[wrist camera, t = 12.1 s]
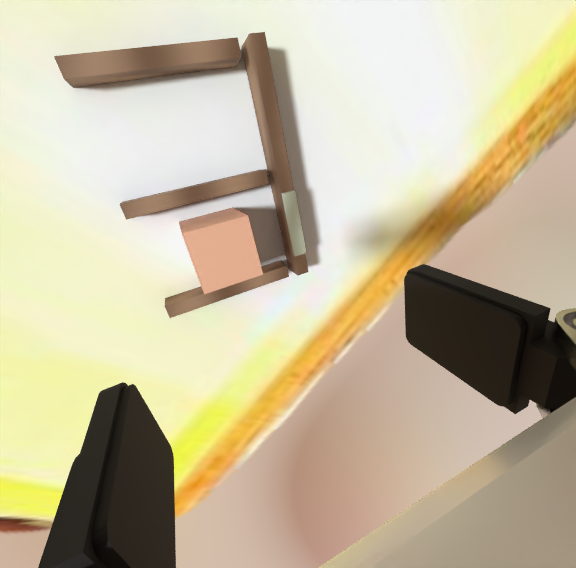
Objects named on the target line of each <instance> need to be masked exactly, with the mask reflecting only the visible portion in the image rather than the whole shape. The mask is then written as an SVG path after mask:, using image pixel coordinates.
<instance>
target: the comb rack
mask: <svg viewBox="0 0 576 568" xmlns="http://www.w3.org/2000/svg"><path fill="white" fill-rule="evenodd" d="M242 51H243V56H244V61H245V65H246V70H247V75H248V80H249V84H250V89H251V94H252V98H253V103H254V108H255V112H256V117H257V122H258V126H259V131H260V136H261V141H262V145H263V150H264V155H265V159H266V164H267V169H268V173H269V178H270V183H271V187H272V192H273V197H274V202H275V206H276V211H277V216H278V220H279V225H280V230H281V234H282V239H283V244H284V248H285V253H286V258H287V263H288V267H289V269H290V270H291V271H293V272H294V273H295V274H297V275H301V274H304V273H306V272H308V267H307V262H306V256H305V253H306V248H305V242H304V237H303V231H302V225H301V220H300V214H299V209H298V203H297V198H296V192H295V190H293V185H292V179H291V174H290V168H289V163H288V157H287V152H286V146H285V141H284V135H283V130H282V124H281V119H280V113H279V108H278V102H277V97H276V91H275V86H274V80H273V75H272V70H271V64H270V59H269V53H268V48H267V42H266V37H265V32H261V33H251V34H249V35H248V37H247V39H246V40H245V42H244V44H243V46H242ZM54 57H55V60H56V62H57V64H58V66H59V69H60V71H61V73H62V75H63V78H64V79H65V80H66V81H67V82H68V83H69V84H70V85H71V86H72V87H73V88H74V87H81V86H89V85H97V84H104V83H112V82H120V81H128V80H135V79H143V78H151V77H158V76H166V75H174V74H182V73H189V72H197V71H205V70H212V69H220V68H228V67H236V66H237V64H238V63H239V61H240V59H241V58H242V57H241V52H240V47H239V43H238V38H229V39H219V40H210V41H200V42H190V43H180V44H170V45H161V46H151V47H141V48H131V49H121V50H112V51H102V52H92V53H82V54H72V55H63V56H54ZM266 184H269V182H268V177H267V173H266V170H257V171H253V172H249V173H244V174H240V175H236V176H232V177H227V178H223V179H219V180H214V181H210V182H206V183H202V184H197V185H193V186H189V187H185V188H180V189H176V190H172V191H168V192H163V193H159V194H155V195H150V196H146V197H142V198H138V199H133V200H129V201H125V202H122V203H120V206H121V209H122V211H123V213H124V215H125V218H126V219H130V218H134V217H138V216H142V215H146V214H150V213H154V212H158V211H162V210H166V209H170V208H174V207H178V206H182V205H186V204H190V203H194V202H198V201H202V200H206V199H210V198H214V197H218V196H222V195H226V194H230V193H234V192H238V191H242V190H246V189H250V188H254V187H258V186H262V185H266ZM261 268H262V272H263V275H260V276H257V277H254V278H251V279H248V280H245V281H242V282H240V283H237V284H234V285H231V286H228V287H225V288H222V289H219V290H216V291H213V292H210V293H207V294H204V292H203V290H202V287H198V288H195V289H192V290H189V291H186V292H183V293H180V294H177V295H174V296H171V297H168V298H165V308H166V310H167V312H168V315H169V317H170V318H171V317H174V316H177V315H180V314H183V313H186V312H189V311H191V310H194V309H197V308H200V307H203V306H206V305H209V304H212V303H214V302H217V301H220V300H223V299H226V298H229V297H232V296H234V295H237V294H240V293H243V292H246V291H249V290H252V289H254V288H257V287H260V286H263V285H266V284H269V283H272V282H275V281H277V280H280V279H283V278H286V277H289V275H288V270H287V266H286V265H285V264H284V263H282V262H281V261H277V262H274V263H271V264H268V265H265V266H262V267H261Z"/></svg>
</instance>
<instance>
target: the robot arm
mask: <svg viewBox="0 0 576 568" xmlns="http://www.w3.org/2000/svg"><path fill="white" fill-rule="evenodd" d="M404 286H405V319H406V320H405V321H406V323H405V324H406V338H407V340H408V342H409V343H410V344H411V345H413V346H414V347H415V348H417V349H418V350H420V351H421V352H423V353H424V354H425V355H427V356H428V357H430V358H431V359H432V360H434V361H435V362H437V363H438V364H440V365H441V366H443V367H444V368H445V369H447V370H448V371H450V372H451V373H453V374H454V375H455V376H457V377H458V378H460V379H461V380H463V381H464V382H465V383H467V384H468V385H470V386H471V387H473V388H474V389H475V390H477V391H478V392H480V393H481V394H482V395H484V396H485V397H487V398H488V399H490V400H491V401H492V402H494V403H495V404H497V405H499V406H504V407H506V408H507V409H509V410H510V411H511V412H513V413H514V414H516V413H518V412H519V411H521V410H523V409H524V408H526V407H527V406H528V404H529V400H532V401H533V402H535V403H536V405H537V408H538V410H539V412H540V413H541V415H542V417H543V419H542V420H540V421H538V422H537V423H535V424H534V425H532V426H531V427H529V428H528V429H526V430H525V431H523V432H522V433H520V434H518V435H517V436H515V437H514V438H512V439H511V440H509V441H508V442H506V443H505V444H503V445H502V446H500V447H499V448H497V449H496V450H494V451H493V452H491V453H490V454H488V455H487V456H485V457H484V458H482V459H481V460H479V461H478V462H476V463H475V464H473V465H472V466H470V467H469V468H467V469H465V470H464V471H463V472H461V473H459V474H458V475H456V476H455V477H453V478H452V479H450V480H449V481H447V482H446V483H444V484H443V485H441V486H440V487H438V488H437V489H435V490H434V491H432V492H431V493H429V494H428V495H426V496H425V497H423V498H422V499H420V500H419V501H418V502H416V503H414V504H413V505H411V506H410V507H408V508H407V509H405V510H404V511H402V512H401V513H399V514H398V515H396V516H395V517H393V518H392V519H390V520H389V521H387V522H386V523H384V524H383V525H381V526H380V527H378V528H377V529H376V530H374V531H372V532H371V533H370V534H368V535H366V536H365V537H363V538H362V539H360V540H359V541H357V542H356V543H355V544H353V545H351V546H350V547H348V548H347V549H345V550H344V551H343V552H341V553H340V554H338V555H337V556H335V557H334V558H332V559H331V560H329V561H328V562H326V563H325V564H323V565H322V566H320V567H319V568H576V308H573V309H566V310H562V311H560V312H559V313H557V314H556V318H555V322H552V321H549V320H548V317H549V313H550V308H548V307H545V306H542V305H539V304H536V303H533V302H531V301H528V300H525V299H522V298H519V297H517V296H514V295H511V294H508V293H505V292H502V291H499V290H497V289H494V288H491V287H488V286H485V285H482V284H479V283H477V282H474V281H471V280H468V279H465V278H462V277H459V276H457V275H453V274H451V273H448V272H445V271H442V270H440V269H437V268H433V267H431V266H428V265H424V264H423V265H420V266H417V267H415V268H412V269H410V270H409V271H408V272H407V275H406V276H405V279H404ZM38 568H176V556H175V504H174V458H173V452H172V449H171V446H170V444H169V442H168V441H167V439H166V437H165V435H164V434H163V432H162V430H161V429H160V427H159V425H158V423H157V422H156V420H155V418H154V417H153V415H152V413H151V411H150V410H149V408H148V406H147V405H146V403H145V401H144V399H143V398H142V396H141V394H140V393H139V391H138V389H137V388H136V386H135V385H134V384H132V385H129V386H128V385H127V384H126V383H120V384H118V385H115V386H113V387H110V388H107V389H105V390H102V391H101V392H100V393H99V395H98V398H97V402H96V405H95V408H94V411H93V414H92V417H91V421H90V424H89V427H88V430H87V433H86V436H85V440H84V443H83V446H82V449H81V452H80V454H79V455H78V456H77V457H76V458H75V460H74V462H73V464H72V467H71V470H70V473H69V476H68V479H67V482H66V485H65V488H64V491H63V494H62V497H61V500H60V503H59V506H58V509H57V512H56V515H55V518H54V521H53V524H52V528H51V531H50V534H49V537H48V540H47V543H46V546H45V549H44V552H43V555H42V558H41V561H40V564H39V567H38Z"/></svg>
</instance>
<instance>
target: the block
mask: <svg viewBox="0 0 576 568" xmlns="http://www.w3.org/2000/svg"><path fill="white" fill-rule="evenodd" d="M179 224H180V228H181V232H182V235H183V238H184V241H185V243H186V246H187V249H188V252H189V254H190V257H191V260H192V262H193V265H194V268H195V271H196V273H197V276H198V279H199V281H200V284H201V287H202V290H203V292H204V294H207V293H210V292H213V291H216V290H219V289H222V288H225V287H228V286H231V285H234V284H237V283H240V282H242V281H245V280H248V279H251V278H254V277H257V276H260V275H263V272H262V268H261V264H260V260H259V256H258V252H257V248H256V244H255V241H254V237H253V233H252V229H251V225H250V221H249V217H248V215H246V214H244V213H242V212H240V211H238V210H236V209H234V208H229V209H225V210H222V211H218V212H214V213H210V214H207V215H203V216H199V217H195V218H191V219H188V220H184V221H180V222H179Z"/></svg>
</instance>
